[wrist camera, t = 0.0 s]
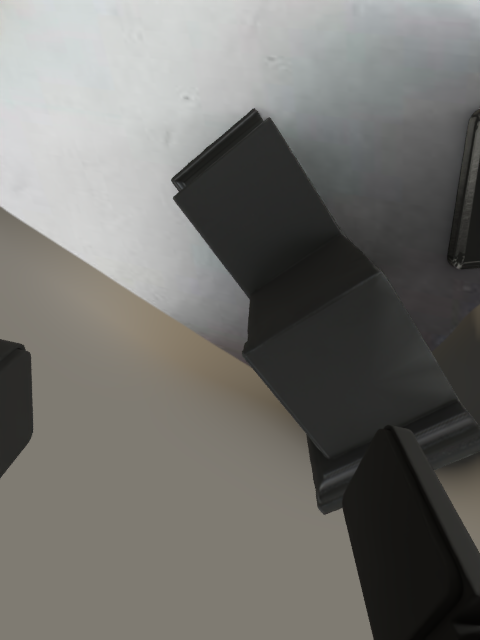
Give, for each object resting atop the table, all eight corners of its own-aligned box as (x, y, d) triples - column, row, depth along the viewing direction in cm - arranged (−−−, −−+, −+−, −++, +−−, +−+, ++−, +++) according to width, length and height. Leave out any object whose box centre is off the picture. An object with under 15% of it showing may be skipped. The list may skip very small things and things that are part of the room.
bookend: (169, 179, 36) (44, 214, 15) (255, 106, 33) (253, 19, 12) (293, 342, 44) (327, 521, 22) (373, 295, 40) (500, 451, 19)
